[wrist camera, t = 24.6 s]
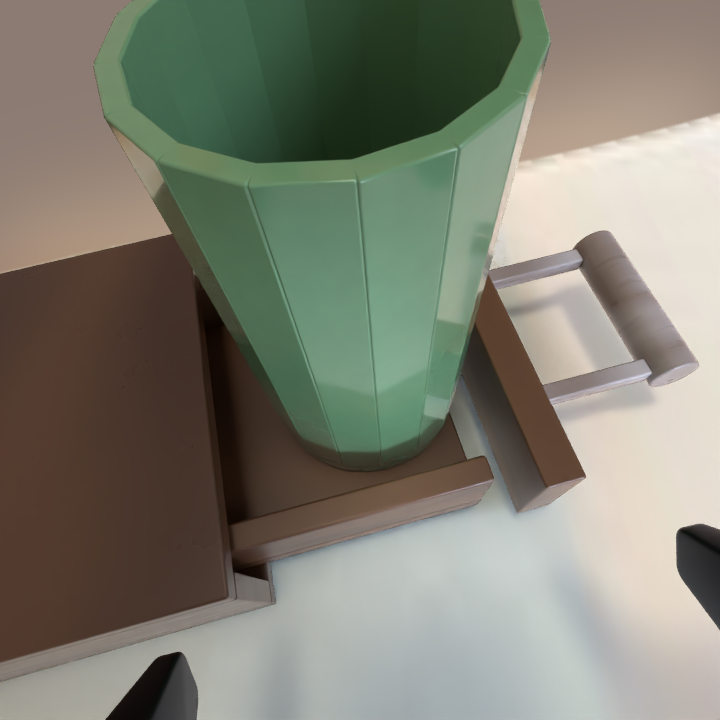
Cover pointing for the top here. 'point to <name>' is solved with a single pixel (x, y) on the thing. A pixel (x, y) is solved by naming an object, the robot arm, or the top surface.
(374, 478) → the drawer
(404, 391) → the green cup
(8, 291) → the cabinet
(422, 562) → the top surface
